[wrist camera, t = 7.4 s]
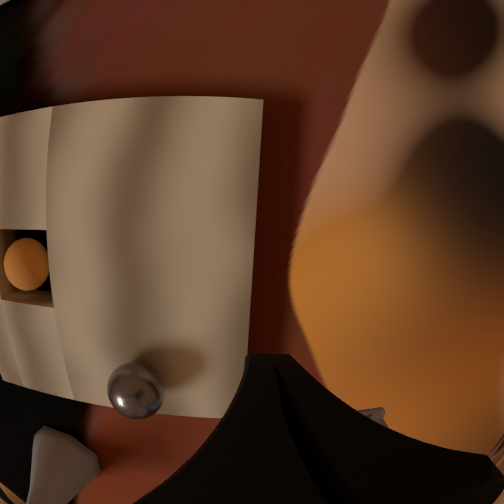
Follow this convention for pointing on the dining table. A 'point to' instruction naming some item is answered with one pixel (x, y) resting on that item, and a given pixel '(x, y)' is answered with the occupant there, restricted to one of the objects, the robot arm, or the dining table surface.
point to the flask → (59, 467)
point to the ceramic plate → (3, 1)
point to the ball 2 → (135, 390)
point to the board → (133, 245)
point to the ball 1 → (26, 264)
